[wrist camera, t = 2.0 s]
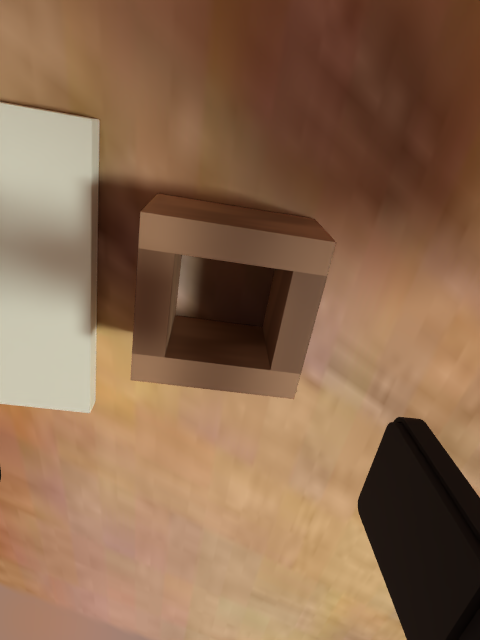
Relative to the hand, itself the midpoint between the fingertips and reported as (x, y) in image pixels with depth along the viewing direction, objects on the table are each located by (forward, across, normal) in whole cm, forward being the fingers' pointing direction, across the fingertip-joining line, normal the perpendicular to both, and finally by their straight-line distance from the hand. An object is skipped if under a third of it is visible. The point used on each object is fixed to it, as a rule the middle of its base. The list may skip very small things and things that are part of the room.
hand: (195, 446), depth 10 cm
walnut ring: (+11, -1, 0) cm, 11 cm away
